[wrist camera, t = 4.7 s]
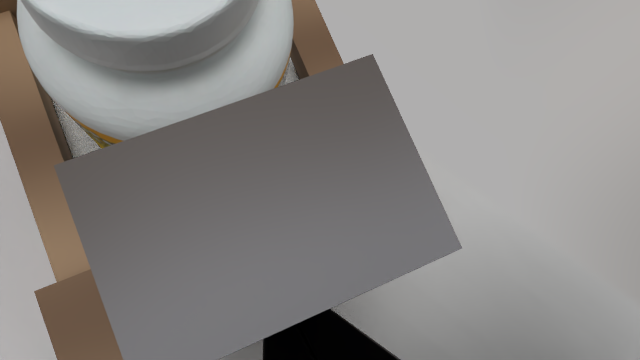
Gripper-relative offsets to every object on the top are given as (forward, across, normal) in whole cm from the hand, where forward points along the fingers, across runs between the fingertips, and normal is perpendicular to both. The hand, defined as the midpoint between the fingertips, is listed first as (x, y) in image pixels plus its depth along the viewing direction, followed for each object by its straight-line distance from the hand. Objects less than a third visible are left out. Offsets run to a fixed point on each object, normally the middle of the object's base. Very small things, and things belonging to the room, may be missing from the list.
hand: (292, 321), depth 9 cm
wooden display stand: (+10, 0, +1) cm, 10 cm away
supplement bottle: (+10, 0, +1) cm, 10 cm away
